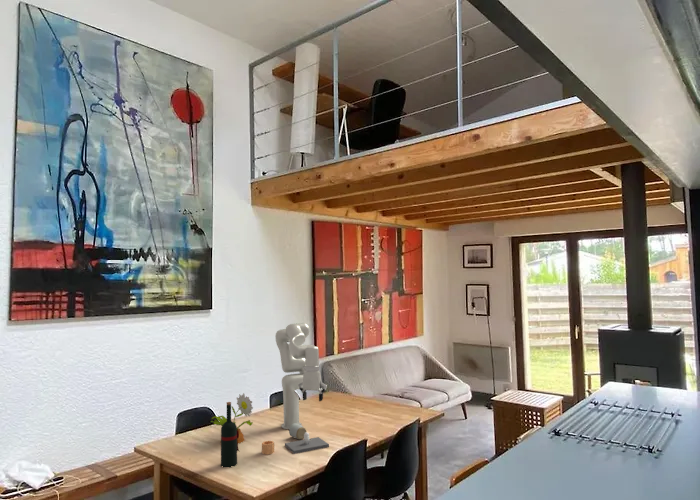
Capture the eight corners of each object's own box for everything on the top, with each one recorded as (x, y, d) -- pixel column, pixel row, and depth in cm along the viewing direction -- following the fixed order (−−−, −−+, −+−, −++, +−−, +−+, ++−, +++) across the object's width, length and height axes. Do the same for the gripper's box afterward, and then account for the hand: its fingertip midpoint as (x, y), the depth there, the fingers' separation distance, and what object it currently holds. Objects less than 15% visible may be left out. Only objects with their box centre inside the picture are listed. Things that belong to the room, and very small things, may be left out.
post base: (284, 446, 261) (284, 432, 262) (318, 439, 271) (318, 426, 271) (294, 453, 249) (293, 439, 249) (329, 447, 258) (328, 432, 259)
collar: (260, 451, 253) (260, 442, 253) (271, 449, 256) (271, 440, 256) (264, 455, 248) (264, 445, 248) (275, 453, 250) (275, 443, 251)
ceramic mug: (296, 441, 268) (296, 427, 269) (288, 438, 275) (288, 424, 275) (312, 437, 275) (312, 423, 276) (303, 434, 281) (303, 420, 282)
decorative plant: (262, 439, 274) (261, 394, 276) (230, 451, 254) (230, 403, 256) (229, 431, 289) (229, 389, 290) (196, 443, 269) (196, 398, 270)
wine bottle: (244, 462, 239) (243, 400, 241) (228, 468, 230) (228, 405, 232) (233, 459, 243) (232, 398, 245) (217, 465, 235) (217, 403, 237)
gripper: (295, 369, 267) (295, 400, 266) (323, 370, 261) (324, 402, 260) (301, 367, 274) (301, 397, 273) (329, 368, 268) (329, 399, 267)
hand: (312, 400), depth 266 cm, fingers open, 9 cm apart
